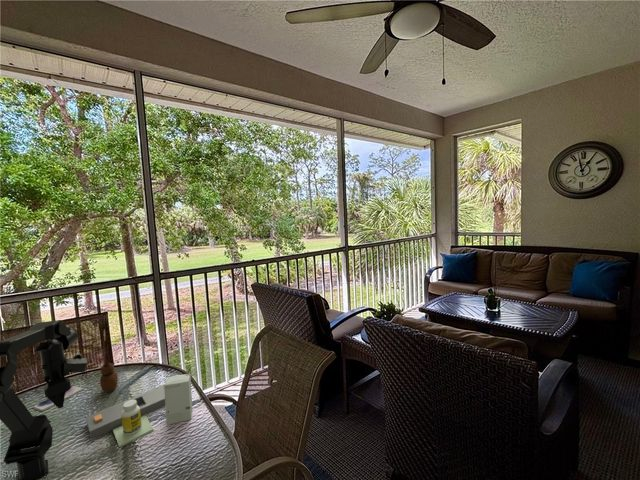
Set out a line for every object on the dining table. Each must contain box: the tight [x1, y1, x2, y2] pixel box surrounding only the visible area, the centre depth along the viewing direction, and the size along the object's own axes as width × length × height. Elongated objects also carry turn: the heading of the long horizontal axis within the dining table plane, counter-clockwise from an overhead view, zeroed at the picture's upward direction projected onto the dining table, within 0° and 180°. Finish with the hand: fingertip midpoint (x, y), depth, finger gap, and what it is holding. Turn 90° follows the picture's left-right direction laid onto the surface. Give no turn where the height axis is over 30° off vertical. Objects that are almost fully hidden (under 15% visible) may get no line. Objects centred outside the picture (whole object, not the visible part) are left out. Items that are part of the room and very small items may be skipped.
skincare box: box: [163, 373, 193, 426], centre depth 109 cm, size 8×6×15 cm
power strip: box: [85, 384, 165, 440], centre depth 113 cm, size 28×10×4 cm, turn 134°
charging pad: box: [112, 414, 154, 448], centre depth 104 cm, size 10×10×1 cm
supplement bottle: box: [121, 400, 142, 435], centre depth 103 cm, size 5×5×10 cm
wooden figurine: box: [99, 354, 119, 393], centre depth 127 cm, size 7×6×15 cm
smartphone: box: [32, 385, 85, 413], centre depth 124 cm, size 7×1×15 cm
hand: (60, 401), depth 102 cm, fingers open, 9 cm apart
